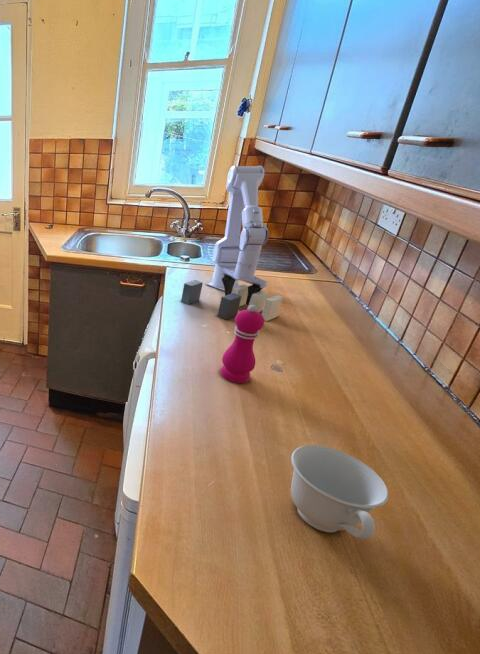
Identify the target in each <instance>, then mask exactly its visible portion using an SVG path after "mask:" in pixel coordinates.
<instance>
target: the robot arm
mask: <svg viewBox="0 0 480 654" xmlns="http://www.w3.org/2000/svg"><path fill="white" fill-rule="evenodd" d="M264 178H265V168H264V166H262V165H253V166H251V165H249V166H248V165H247V166H246V165H245V166H244V165H242V166H241V165H240V166H239V165H232V166H231V167H230V168H229V171H228V173H227V178H226V184H225V185H226V186H225V187H226V188H225V191H228V192H229V203H228V209H227V216H226V222H225V223H226V224H225V231H224V237H222V238H221V239H219V240H218V241H216V242H215V244H214V246H213V247H214V248H213V250H212V257H211V258H212V261H213V263H214V265H215V266H214V270H213V275H212V278H211V279H212V280H211V281H209V282H207V283H206V285H207V286H209V287H211V288H215V289H218V290H221V291H224V296H226V295H229V294H232V291H233V288H235V287H238V286H241V285H240V284H239V281H240V282H245V283H247V284H250V285H247V286H248V293H247V297H246V300H245V305H246V306H248V305H249V302H250V300H251V297H252V294H254V293H257V292H260V291H262V290H263V289H265V288H267V286H268V281H267V280H264V279H262V278H260V277H257V276H256V271H257V267H258V262H259V259H260V255H261V252H262V247H263V246H265V245H266V244H267V242H268V239H269V229H268V227H267V226H266V224H265V223H264V216H263V209H262V207H261V206H259V205H258V203H259V187H260V186H261V184H262V182H263V180H264ZM241 229H242V230H241Z"/></svg>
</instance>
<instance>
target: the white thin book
mask: <svg viewBox="0 0 480 654" xmlns="http://www.w3.org/2000/svg"><path fill="white" fill-rule="evenodd" d="M248 286H249V285H248V284H241V285H240V286H238V287H235V288H233V289H232V293H234V294H237V295H240V296H242V297H241V301H240V304H239V308H240V307H242V306H244V305H246V300H247V296H248ZM232 293H231V294H232Z"/></svg>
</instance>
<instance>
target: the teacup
mask: <svg viewBox="0 0 480 654" xmlns="http://www.w3.org/2000/svg"><path fill="white" fill-rule="evenodd" d="M290 460H291V461H290V462H291V465H292V467H293V474H292V478H291V485H290V496H291V499H292V502H293V504H294V506H295V507H296V508H297V513H298V515H299V516H300V518H301V519H302V520H303V521H304V522H306V523H307V524H308V525H309V526H311V527H313V528H314V529H316V530H318V531H321V532H325V533H335V532H337V531H347V532H348V533H349V534H350V535H351V536H352V537H354V538H356V539H359V540H369V539H371V538H372V537H373V536H374V534H375V531H376V524H375V520H374V519H373V517H372V515H371V514H370V512H371V511H372V510H373V509H375V508H379V507H382V506H383V505H385V504H386V503H387V502H388V500H389V496H390V495H389V494H390V493H389V489H388V487H387V485H386V483H385V482H384V481H383V479H382V478H381V477H380V476H379V475H378V474H377V472H375V471H374V469H372V468H371V467H370V466H368V465H367V464H365V462H363V461H361V460H360V459H358V458H356V457H354V456H352V455H351V454H349V453H346V452H344V451H342V450H339V449H336V448H332V447H329V446H322V445H313V444H312V445H311V444H310V445H303V446H299V447H297V448H295V449H294V450H293V452H292V453H291V457H290ZM360 523H361V528H360V530H359V529H358V528H357V526H358V525H359V524H360Z"/></svg>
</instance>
